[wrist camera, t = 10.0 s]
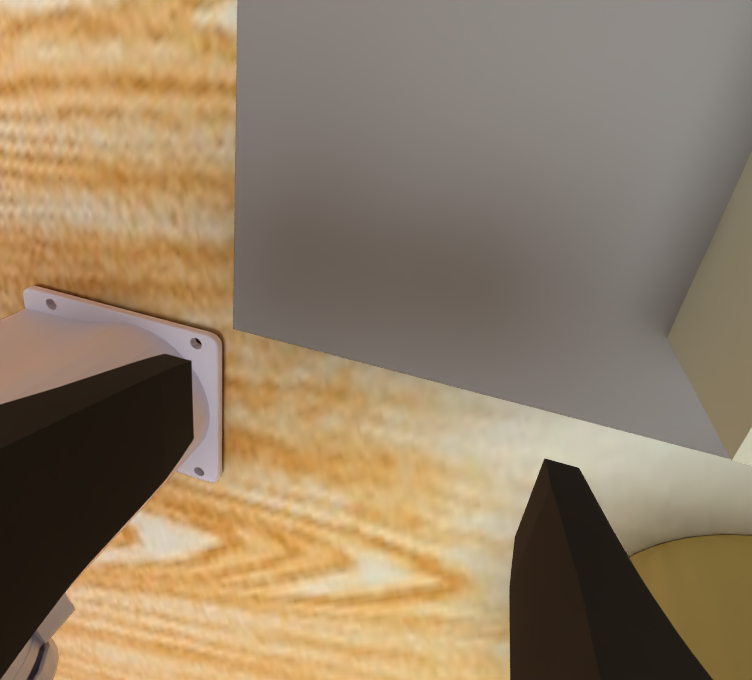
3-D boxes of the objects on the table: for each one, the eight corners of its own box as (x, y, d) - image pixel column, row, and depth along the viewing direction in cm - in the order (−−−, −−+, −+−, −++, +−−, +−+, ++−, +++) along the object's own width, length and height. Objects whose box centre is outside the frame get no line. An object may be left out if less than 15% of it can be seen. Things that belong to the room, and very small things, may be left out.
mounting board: (248, 316, 21) (233, 328, 20) (266, -348, 13) (242, -387, 12) (852, 471, 17) (873, 496, 16) (1442, -318, 9) (1560, -370, 8)
